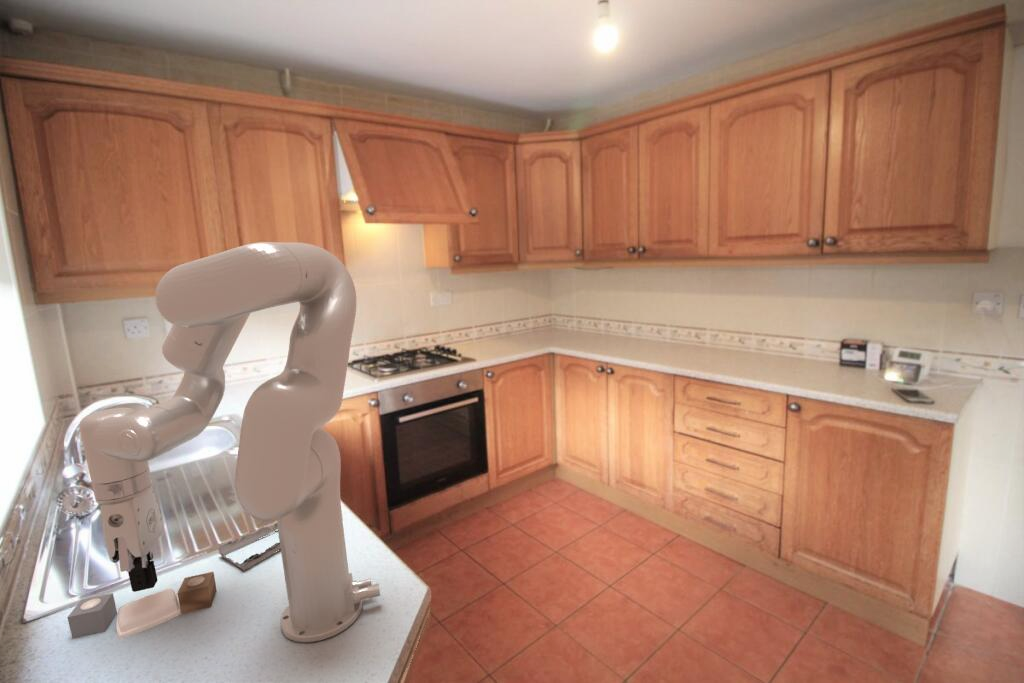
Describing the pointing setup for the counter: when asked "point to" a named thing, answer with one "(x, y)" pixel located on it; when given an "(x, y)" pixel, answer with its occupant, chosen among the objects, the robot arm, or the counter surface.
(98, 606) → the slate grey block
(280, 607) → the counter surface
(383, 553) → the counter surface
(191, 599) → the walnut block
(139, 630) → the soap
